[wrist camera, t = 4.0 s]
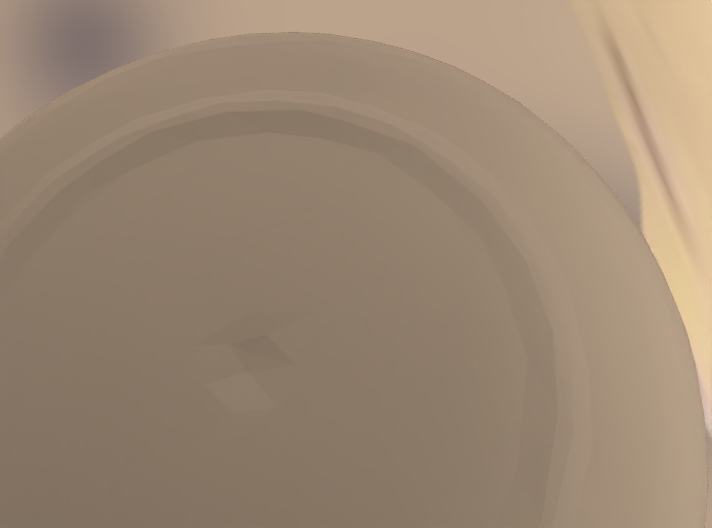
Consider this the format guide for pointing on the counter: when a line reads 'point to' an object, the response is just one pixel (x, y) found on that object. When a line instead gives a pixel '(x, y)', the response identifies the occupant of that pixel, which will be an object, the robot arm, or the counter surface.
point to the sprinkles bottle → (329, 306)
